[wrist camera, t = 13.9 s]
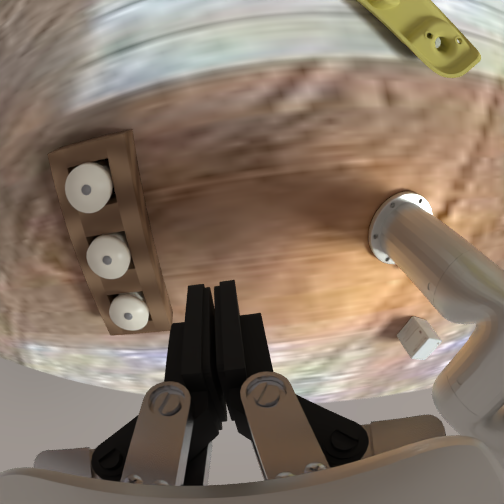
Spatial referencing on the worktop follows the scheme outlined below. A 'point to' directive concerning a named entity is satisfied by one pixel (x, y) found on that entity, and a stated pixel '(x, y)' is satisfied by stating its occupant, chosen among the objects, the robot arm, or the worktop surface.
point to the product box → (418, 338)
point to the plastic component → (415, 34)
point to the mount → (115, 228)
